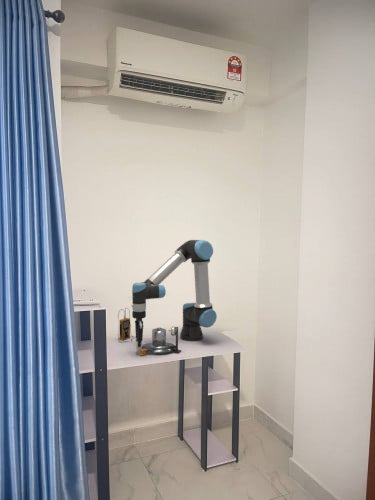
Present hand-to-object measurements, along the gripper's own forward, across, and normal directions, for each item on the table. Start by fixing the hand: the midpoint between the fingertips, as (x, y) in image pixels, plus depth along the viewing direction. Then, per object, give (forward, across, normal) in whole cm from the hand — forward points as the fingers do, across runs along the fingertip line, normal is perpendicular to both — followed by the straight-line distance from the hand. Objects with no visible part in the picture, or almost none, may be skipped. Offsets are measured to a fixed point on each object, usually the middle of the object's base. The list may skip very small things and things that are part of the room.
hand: (139, 351), depth 207 cm
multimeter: (+2, -30, -1) cm, 31 cm away
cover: (-1, -4, +13) cm, 13 cm away
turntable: (+1, -3, +11) cm, 11 cm away
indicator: (+1, +1, +20) cm, 20 cm away
